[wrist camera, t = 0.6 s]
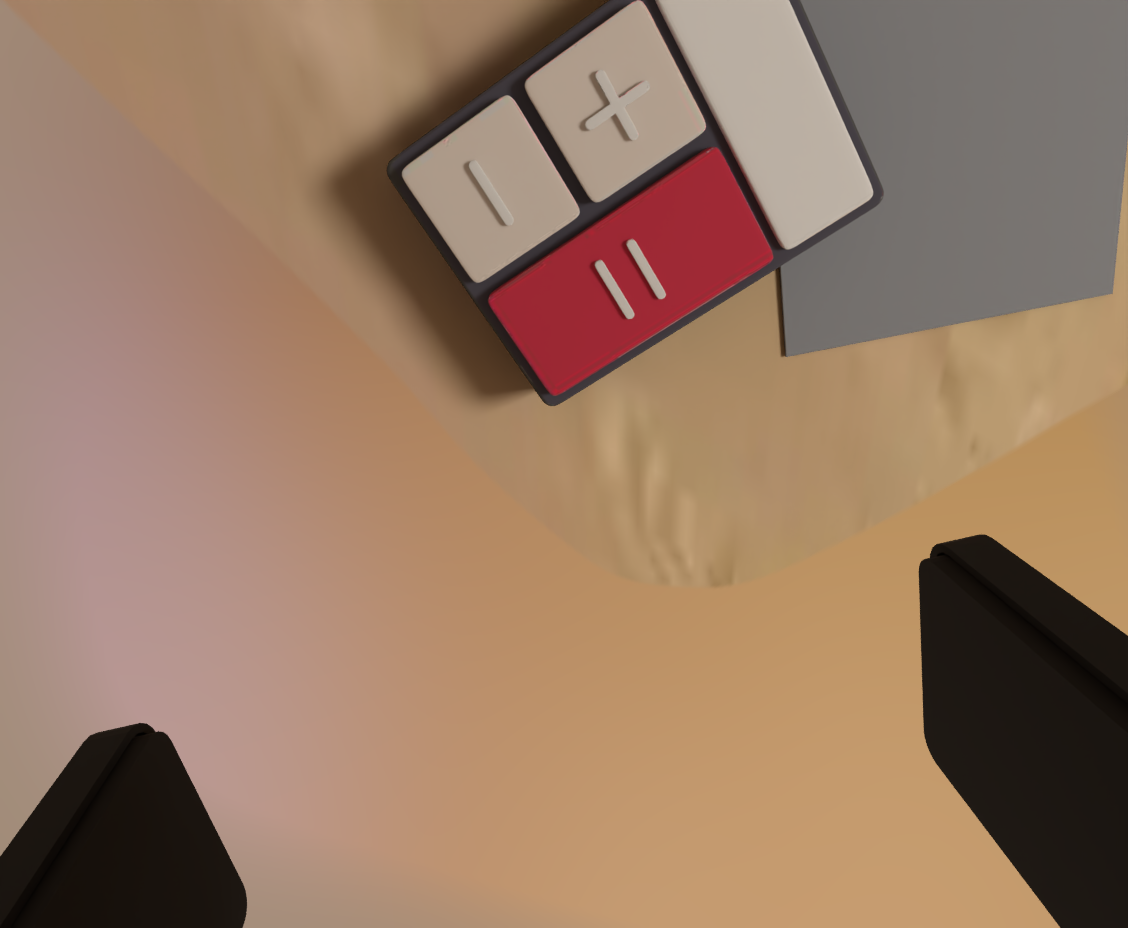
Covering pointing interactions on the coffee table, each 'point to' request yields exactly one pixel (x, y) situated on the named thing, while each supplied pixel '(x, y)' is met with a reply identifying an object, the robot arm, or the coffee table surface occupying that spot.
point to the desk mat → (968, 164)
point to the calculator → (638, 178)
